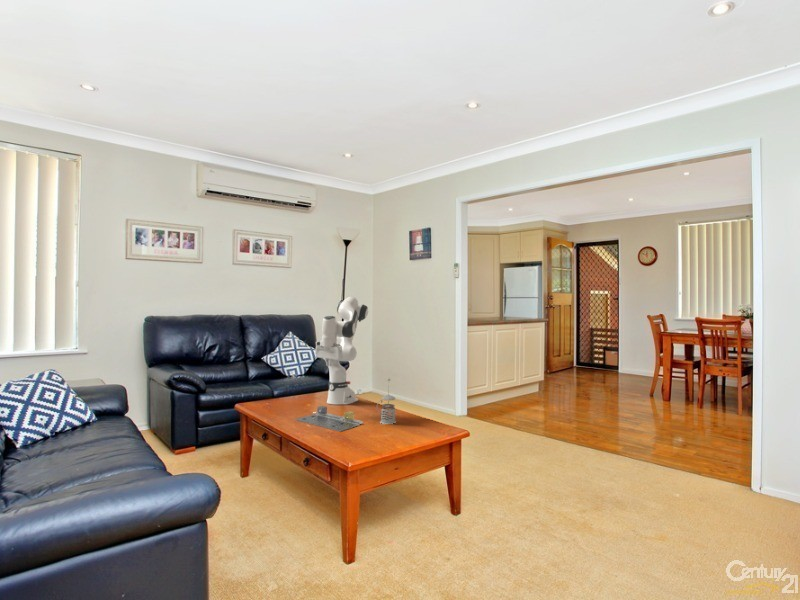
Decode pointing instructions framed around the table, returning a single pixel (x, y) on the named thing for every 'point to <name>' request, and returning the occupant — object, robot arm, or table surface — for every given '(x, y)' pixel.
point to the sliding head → (348, 415)
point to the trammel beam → (323, 412)
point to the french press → (387, 419)
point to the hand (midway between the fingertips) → (328, 366)
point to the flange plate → (327, 422)
